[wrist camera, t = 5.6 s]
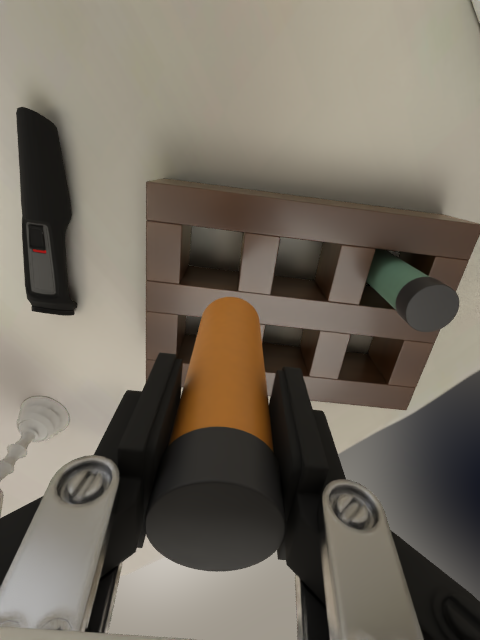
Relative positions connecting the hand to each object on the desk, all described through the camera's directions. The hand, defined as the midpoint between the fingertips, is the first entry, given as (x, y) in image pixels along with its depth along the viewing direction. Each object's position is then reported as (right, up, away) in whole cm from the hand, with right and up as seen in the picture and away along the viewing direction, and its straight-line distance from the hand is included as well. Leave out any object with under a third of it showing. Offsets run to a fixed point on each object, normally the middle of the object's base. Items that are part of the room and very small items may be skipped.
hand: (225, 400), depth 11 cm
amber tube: (0, +2, +5) cm, 6 cm away
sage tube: (+12, +7, +17) cm, 22 cm away
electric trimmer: (-15, +10, +17) cm, 25 cm away
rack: (+5, +5, +19) cm, 20 cm away
